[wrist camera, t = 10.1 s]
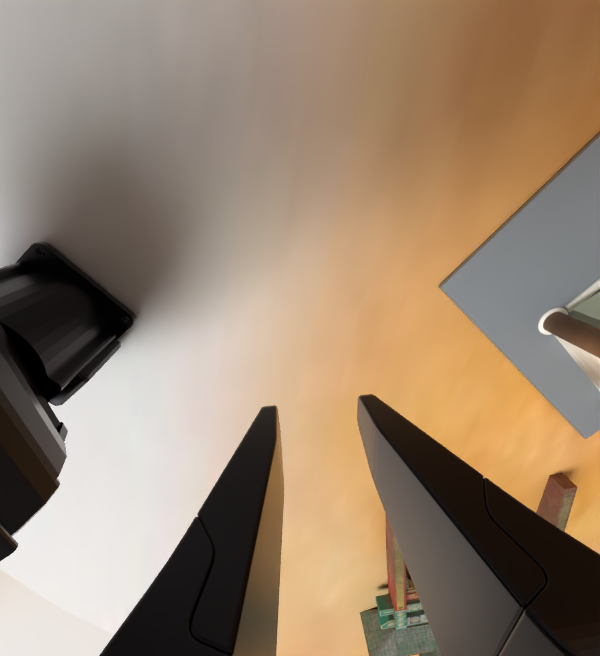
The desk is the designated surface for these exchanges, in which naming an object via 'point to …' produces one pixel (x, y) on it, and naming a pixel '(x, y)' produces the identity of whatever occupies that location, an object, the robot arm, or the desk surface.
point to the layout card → (541, 284)
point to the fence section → (577, 342)
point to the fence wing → (589, 311)
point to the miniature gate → (403, 602)
